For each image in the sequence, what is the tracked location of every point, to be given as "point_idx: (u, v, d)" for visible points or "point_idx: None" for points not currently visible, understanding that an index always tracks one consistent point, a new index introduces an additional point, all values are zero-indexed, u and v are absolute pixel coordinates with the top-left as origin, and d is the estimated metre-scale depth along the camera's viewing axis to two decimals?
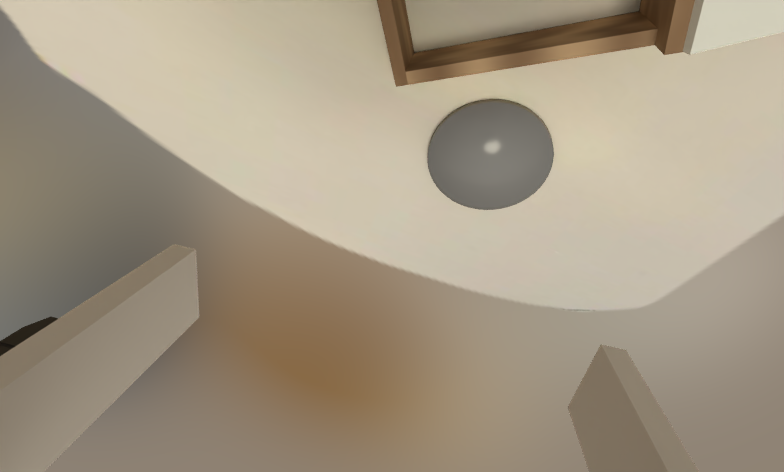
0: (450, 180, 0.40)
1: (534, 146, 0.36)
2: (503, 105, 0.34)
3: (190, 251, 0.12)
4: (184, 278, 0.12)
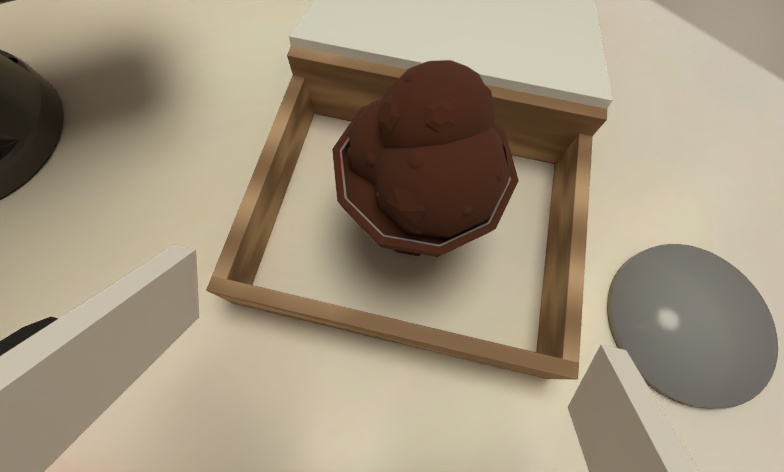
0: (722, 381, 0.27)
1: (676, 263, 0.30)
2: (618, 282, 0.29)
3: (190, 251, 0.12)
4: (184, 278, 0.12)
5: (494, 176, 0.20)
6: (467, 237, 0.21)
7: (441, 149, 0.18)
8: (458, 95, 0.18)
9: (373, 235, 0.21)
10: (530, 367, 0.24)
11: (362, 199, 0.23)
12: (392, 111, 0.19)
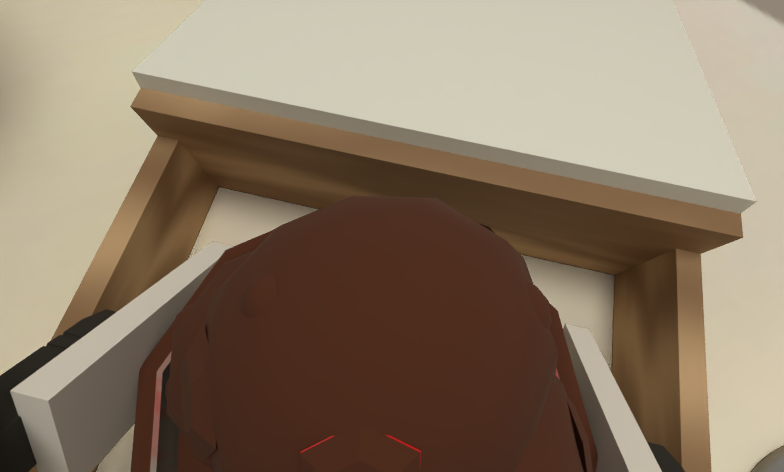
0: None
1: None
2: None
3: (228, 248, 0.13)
4: None
5: None
6: None
7: None
8: (433, 401, 0.04)
9: None
10: None
11: None
12: (198, 409, 0.05)
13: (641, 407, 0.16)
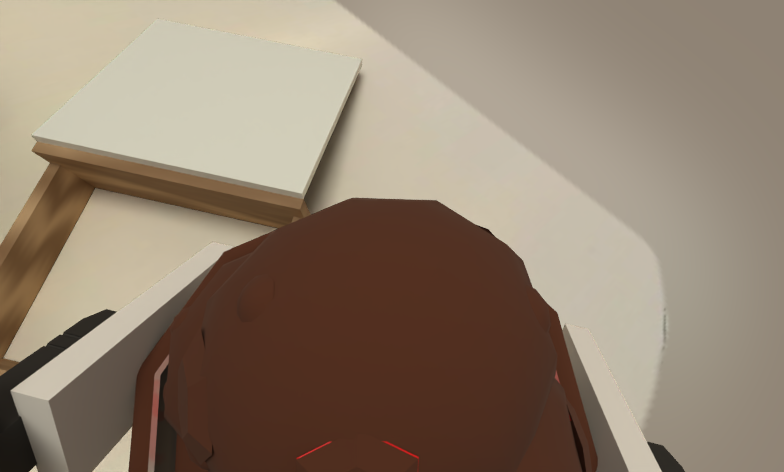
0: None
1: None
2: None
3: (228, 248, 0.13)
4: None
5: None
6: None
7: None
8: (431, 407, 0.04)
9: None
10: None
11: None
12: (193, 413, 0.05)
13: None
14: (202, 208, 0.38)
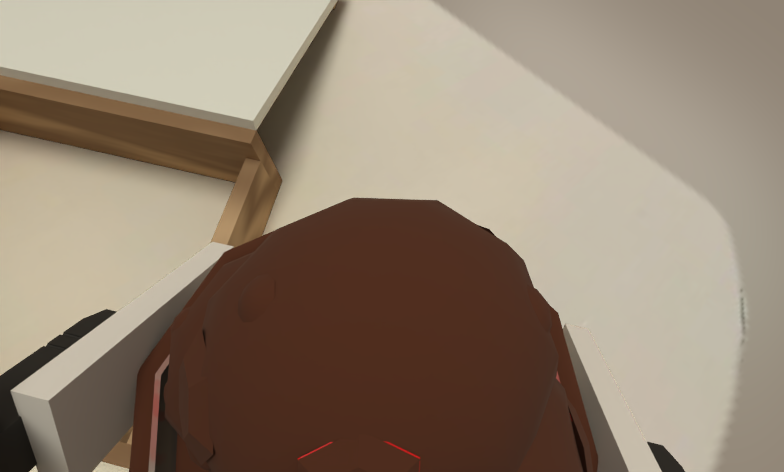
0: None
1: None
2: None
3: (228, 248, 0.13)
4: None
5: None
6: None
7: None
8: (432, 407, 0.04)
9: None
10: None
11: None
12: (195, 414, 0.05)
13: None
14: (134, 154, 0.29)
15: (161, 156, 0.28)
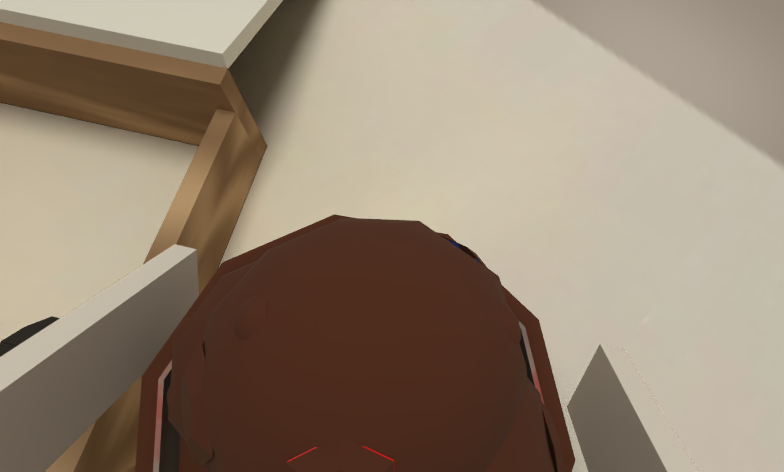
0: None
1: None
2: None
3: (191, 251, 0.12)
4: (185, 278, 0.12)
5: None
6: None
7: None
8: (405, 416, 0.05)
9: None
10: None
11: None
12: (196, 421, 0.06)
13: None
14: (85, 113, 0.24)
15: (116, 114, 0.23)
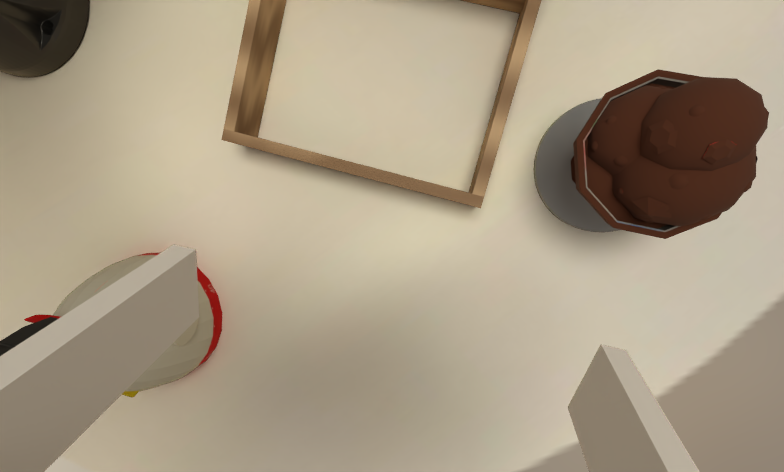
0: None
1: None
2: (548, 132, 0.35)
3: (190, 251, 0.12)
4: (184, 278, 0.12)
5: (742, 190, 0.23)
6: (690, 225, 0.26)
7: (706, 174, 0.22)
8: (743, 134, 0.20)
9: (609, 221, 0.26)
10: (447, 198, 0.33)
11: (597, 185, 0.27)
12: (667, 139, 0.21)
13: (504, 76, 0.34)
14: None
15: None
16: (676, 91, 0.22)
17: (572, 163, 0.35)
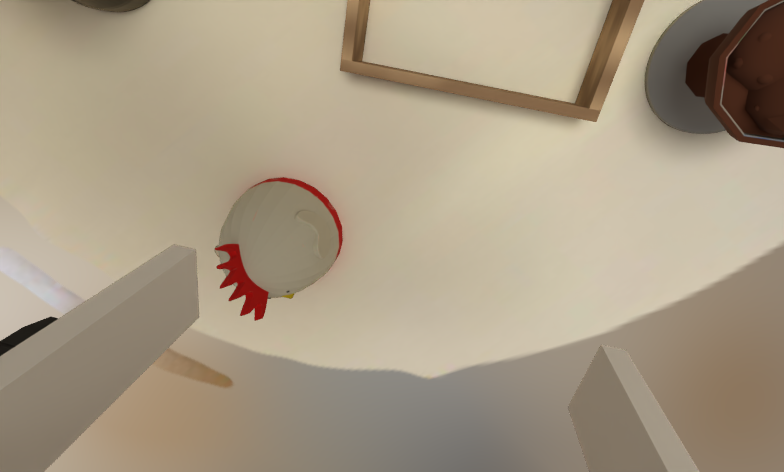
0: None
1: (735, 10, 0.33)
2: (668, 34, 0.34)
3: (190, 251, 0.12)
4: (184, 278, 0.12)
5: None
6: None
7: None
8: None
9: (736, 135, 0.29)
10: (564, 115, 0.35)
11: (730, 100, 0.28)
12: None
13: None
14: None
15: None
16: None
17: (689, 65, 0.35)
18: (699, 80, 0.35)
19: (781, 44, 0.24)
